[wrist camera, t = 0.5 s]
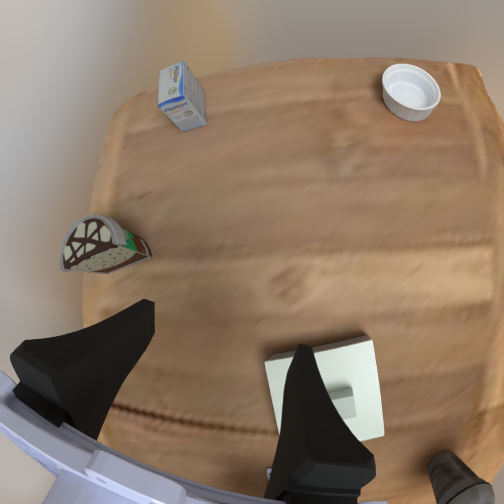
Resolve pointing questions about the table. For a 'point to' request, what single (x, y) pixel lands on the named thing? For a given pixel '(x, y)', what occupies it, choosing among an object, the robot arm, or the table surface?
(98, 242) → the food container
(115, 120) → the table surface
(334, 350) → the lid
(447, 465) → the beverage cup
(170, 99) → the medicine box
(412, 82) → the ramekin
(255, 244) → the table surface
